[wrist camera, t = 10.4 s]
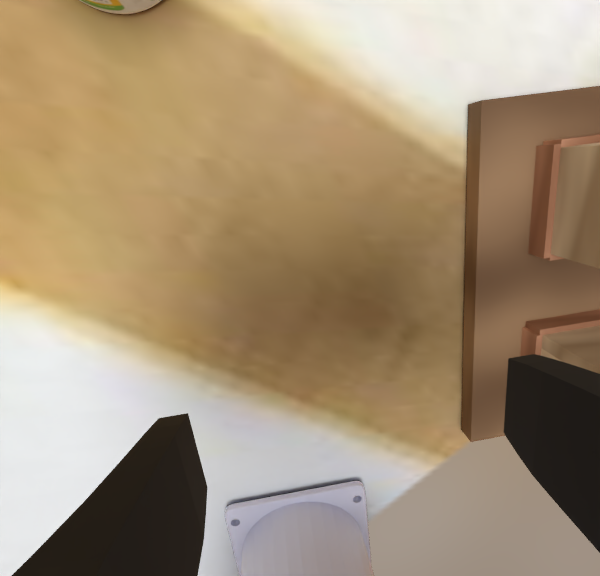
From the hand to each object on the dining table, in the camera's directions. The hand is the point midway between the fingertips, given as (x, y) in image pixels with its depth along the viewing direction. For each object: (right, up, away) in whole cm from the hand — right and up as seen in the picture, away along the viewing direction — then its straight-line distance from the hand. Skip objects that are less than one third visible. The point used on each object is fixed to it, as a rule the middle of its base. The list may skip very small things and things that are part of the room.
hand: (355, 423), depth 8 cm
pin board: (+12, +4, +11) cm, 16 cm away
